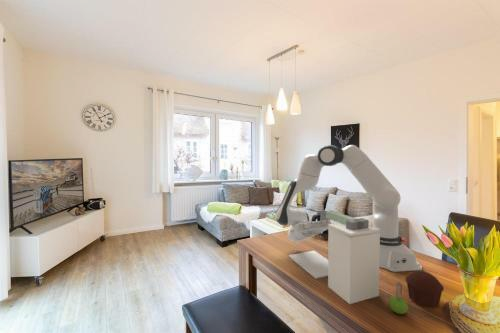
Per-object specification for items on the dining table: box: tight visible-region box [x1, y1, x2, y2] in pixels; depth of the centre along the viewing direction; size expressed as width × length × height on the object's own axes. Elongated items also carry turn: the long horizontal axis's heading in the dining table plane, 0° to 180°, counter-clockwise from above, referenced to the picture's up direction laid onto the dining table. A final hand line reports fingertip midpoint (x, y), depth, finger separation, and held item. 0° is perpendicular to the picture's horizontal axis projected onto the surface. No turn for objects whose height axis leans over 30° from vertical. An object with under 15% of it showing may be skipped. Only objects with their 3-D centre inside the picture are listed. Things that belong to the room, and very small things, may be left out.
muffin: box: [405, 270, 444, 309], centre depth 86 cm, size 12×11×10 cm
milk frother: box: [310, 210, 331, 237], centre depth 156 cm, size 14×16×15 cm
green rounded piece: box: [388, 281, 409, 315], centre depth 80 cm, size 5×6×12 cm
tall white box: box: [327, 222, 380, 305], centre depth 92 cm, size 12×14×26 cm
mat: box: [288, 250, 328, 280], centre depth 116 cm, size 24×16×1 cm, turn 20°
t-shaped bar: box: [325, 209, 370, 230], centre depth 97 cm, size 18×8×3 cm, turn 20°
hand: (320, 222), depth 111 cm, fingers open, 8 cm apart
